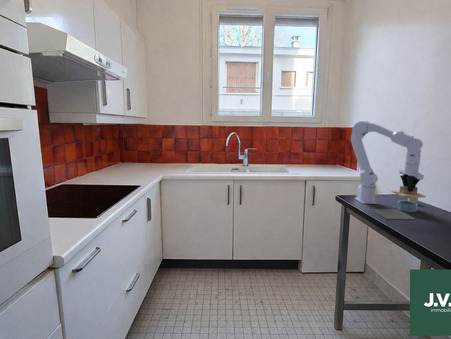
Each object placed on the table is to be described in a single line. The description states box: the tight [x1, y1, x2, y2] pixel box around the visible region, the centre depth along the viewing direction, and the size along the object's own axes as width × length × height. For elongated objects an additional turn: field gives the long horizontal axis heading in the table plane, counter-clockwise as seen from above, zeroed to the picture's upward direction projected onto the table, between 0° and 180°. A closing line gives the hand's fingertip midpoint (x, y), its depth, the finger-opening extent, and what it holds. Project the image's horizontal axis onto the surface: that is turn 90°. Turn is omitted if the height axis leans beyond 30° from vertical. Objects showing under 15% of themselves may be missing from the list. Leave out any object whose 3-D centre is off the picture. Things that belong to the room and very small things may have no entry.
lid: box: [391, 185, 426, 198], centre depth 130 cm, size 10×10×4 cm
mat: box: [370, 208, 417, 221], centre depth 125 cm, size 13×13×1 cm
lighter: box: [407, 197, 419, 204], centre depth 141 cm, size 7×2×8 cm, turn 77°
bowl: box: [396, 199, 419, 213], centre depth 132 cm, size 8×8×4 cm
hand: (408, 190), depth 130 cm, fingers closed on lid, 2 cm apart
